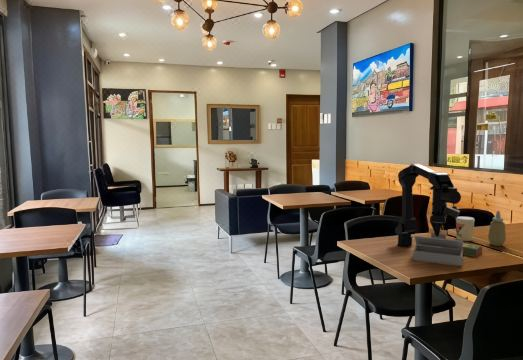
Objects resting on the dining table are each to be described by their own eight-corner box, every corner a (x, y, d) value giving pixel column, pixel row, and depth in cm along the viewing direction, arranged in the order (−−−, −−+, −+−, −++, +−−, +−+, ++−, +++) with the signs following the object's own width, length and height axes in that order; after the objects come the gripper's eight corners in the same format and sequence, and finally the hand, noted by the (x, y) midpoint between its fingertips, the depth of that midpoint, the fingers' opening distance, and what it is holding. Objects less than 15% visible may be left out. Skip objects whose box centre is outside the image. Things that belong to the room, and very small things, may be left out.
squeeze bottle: (507, 247, 199) (509, 212, 197) (489, 246, 202) (491, 212, 200) (503, 243, 207) (505, 210, 205) (486, 242, 209) (487, 209, 207)
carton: (448, 247, 201) (448, 239, 200) (482, 254, 189) (482, 245, 189) (441, 250, 195) (442, 242, 195) (476, 257, 184) (477, 248, 183)
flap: (414, 236, 180) (415, 227, 181) (416, 244, 189) (417, 235, 191) (463, 241, 170) (463, 231, 172) (462, 249, 180) (462, 239, 182)
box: (413, 260, 179) (413, 250, 179) (416, 253, 190) (416, 244, 189) (461, 266, 170) (462, 256, 170) (462, 258, 181) (462, 249, 180)
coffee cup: (452, 237, 221) (452, 216, 220) (468, 237, 221) (469, 216, 220) (459, 241, 212) (460, 219, 211) (477, 241, 212) (478, 219, 210)
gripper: (458, 204, 165) (457, 240, 166) (459, 198, 181) (457, 231, 183) (430, 203, 170) (429, 238, 172) (433, 197, 186) (432, 229, 188)
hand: (437, 234), depth 178 cm, fingers open, 9 cm apart
